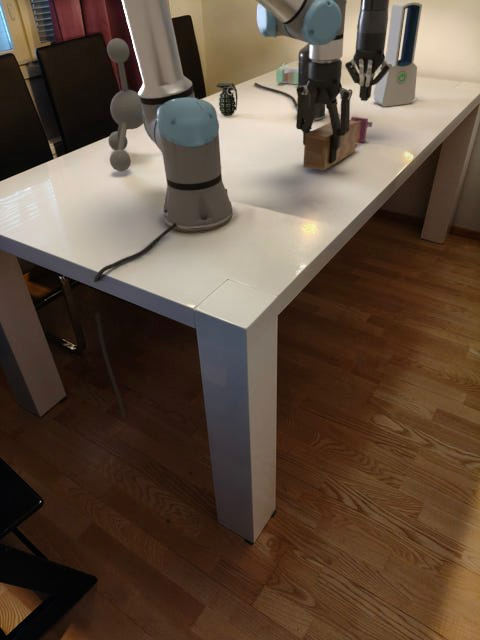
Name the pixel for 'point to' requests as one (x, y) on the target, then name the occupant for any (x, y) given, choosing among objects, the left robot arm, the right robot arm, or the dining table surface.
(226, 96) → the grenade
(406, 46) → the electronic device
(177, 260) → the dining table surface
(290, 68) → the decorative block
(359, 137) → the purple elongated piece
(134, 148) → the dining table surface
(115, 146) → the molecular model
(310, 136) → the brown wooden brick
